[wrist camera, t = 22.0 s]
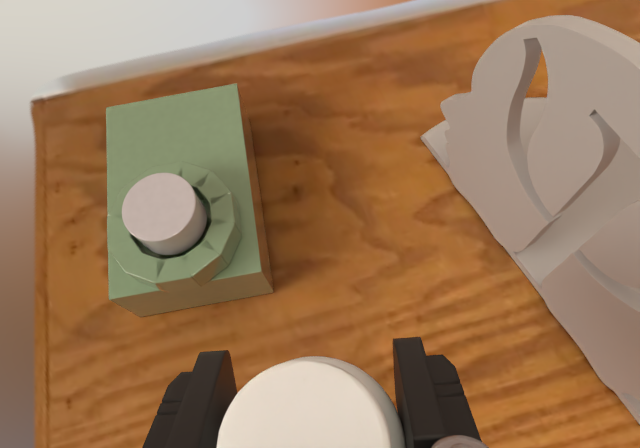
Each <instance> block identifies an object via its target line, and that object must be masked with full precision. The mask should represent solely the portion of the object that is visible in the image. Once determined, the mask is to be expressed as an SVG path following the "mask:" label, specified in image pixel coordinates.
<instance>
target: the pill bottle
mask: <svg viewBox="0 0 640 448" xmlns="http://www.w3.org/2000/svg"><path fill="white" fill-rule="evenodd" d="M216 448H406V444H405V436H404V431H403V427H402V424H401V420H400V418H399V415H398V413H397V411H396V408H395V406H394V404H393V403H392V401H391V399H390V398H389V396H388V395H387V394H386V392H385V391H384V390H383V388H382V387H381V386H380V385H379V384H378V383H377V382H376V381H375V380H374V379H373V378H372V377H371V376H369V375H368V374H367V373H365V372H364V371H362V370H361V369H359V368H358V367H356V366H354V365H352V364H350V363H347V362H344V361H342V360H339V359H335V358H329V357H321V356H311V357H301V358H297V359H292V360H290V361H287V362H284V363H281V364H278V365H275V366H273V367H271V368H269V369H267V370H265V371H263V372H261V373H260V374H258V375H257V376H255V377H254V378H253V379H251V380H250V381H249V382H248V383H247V384H246V385H245V386H244V387H243V388H242V389H241V390H240V391H239V392H238V393H237V395H236V396H235V398H234V399H233V401H232V403H231V404H230V406H229V408H228V410H227V412H226V414H225V416H224V418H223V421H222V424H221V427H220V430H219V434H218V440H217V447H216Z"/></svg>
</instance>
